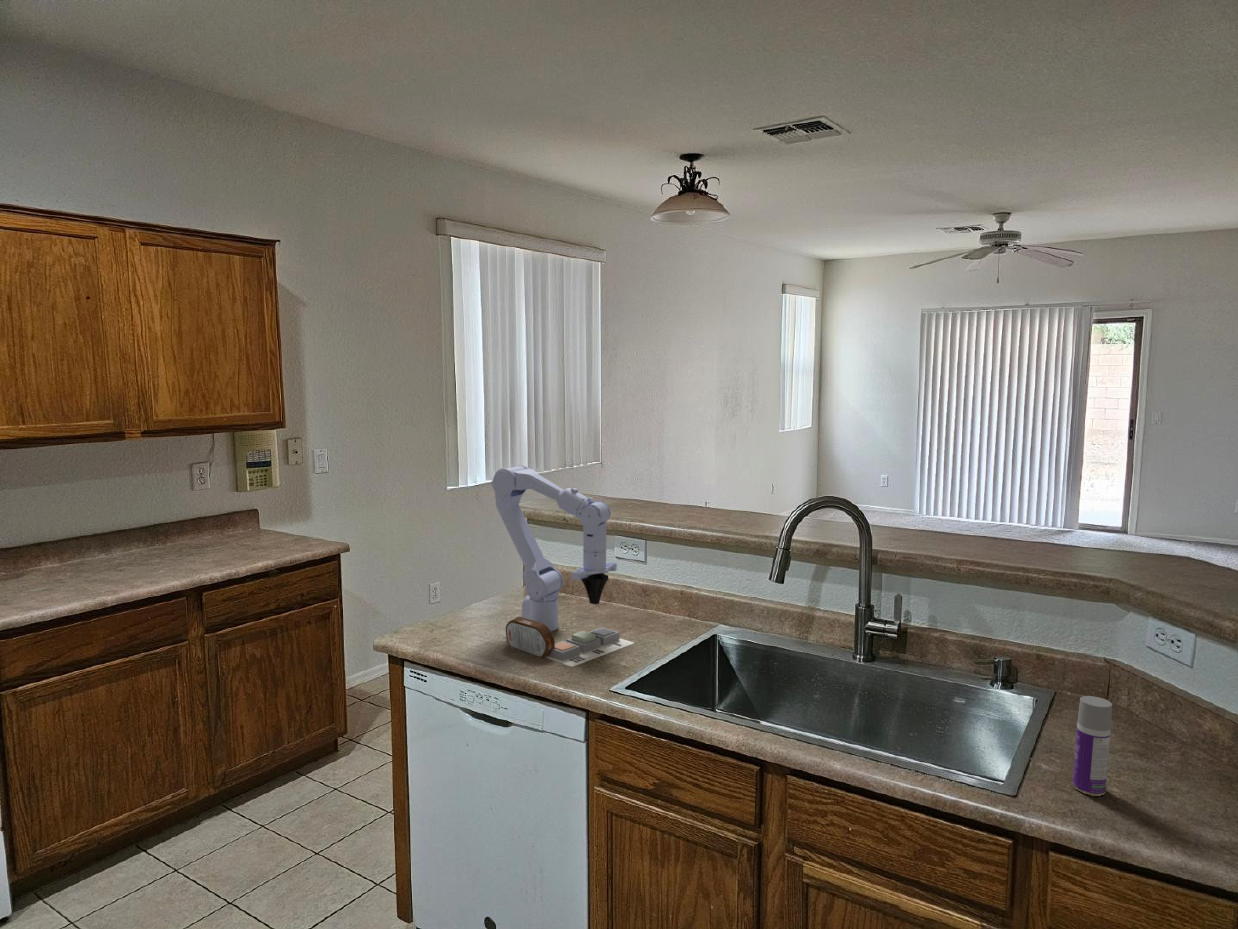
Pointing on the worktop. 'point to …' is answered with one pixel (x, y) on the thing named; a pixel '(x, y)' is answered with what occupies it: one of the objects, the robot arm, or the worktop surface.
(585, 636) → the key two
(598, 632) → the key one
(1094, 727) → the container
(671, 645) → the worktop surface
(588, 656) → the keypad
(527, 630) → the tin
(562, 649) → the key three
